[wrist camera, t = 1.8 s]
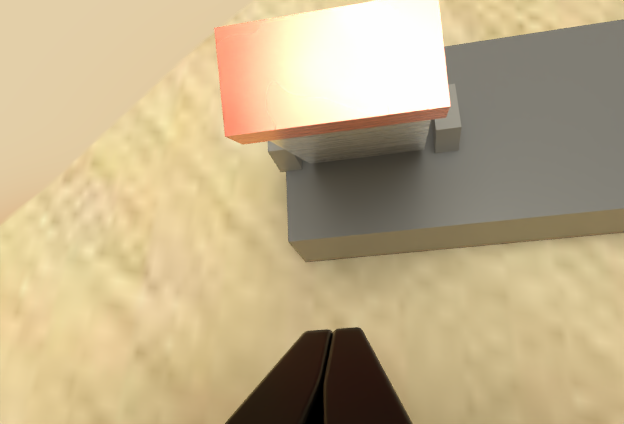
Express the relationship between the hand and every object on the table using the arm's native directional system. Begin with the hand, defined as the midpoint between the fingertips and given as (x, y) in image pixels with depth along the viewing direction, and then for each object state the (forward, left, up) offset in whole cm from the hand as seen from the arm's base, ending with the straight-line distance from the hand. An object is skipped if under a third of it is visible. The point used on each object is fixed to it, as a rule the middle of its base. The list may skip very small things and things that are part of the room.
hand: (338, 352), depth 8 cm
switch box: (+11, -2, -13) cm, 17 cm away
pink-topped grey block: (+7, +4, -9) cm, 13 cm away
